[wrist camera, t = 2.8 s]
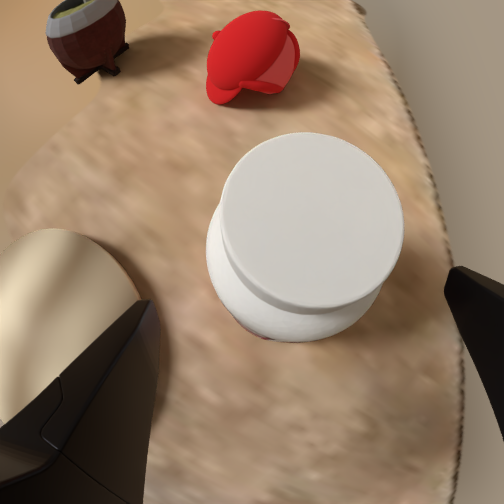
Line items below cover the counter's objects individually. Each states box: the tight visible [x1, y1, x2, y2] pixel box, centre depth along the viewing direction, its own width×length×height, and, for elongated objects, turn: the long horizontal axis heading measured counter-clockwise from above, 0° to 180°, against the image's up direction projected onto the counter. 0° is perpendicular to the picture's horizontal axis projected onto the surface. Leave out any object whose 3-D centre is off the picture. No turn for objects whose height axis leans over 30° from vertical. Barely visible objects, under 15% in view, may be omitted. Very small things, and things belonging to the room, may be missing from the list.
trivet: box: [0, 228, 141, 424], centre depth 16 cm, size 15×15×1 cm
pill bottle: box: [206, 132, 404, 343], centre depth 13 cm, size 6×6×11 cm
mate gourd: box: [46, 0, 129, 84], centre depth 16 cm, size 8×8×15 cm
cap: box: [206, 11, 300, 104], centre depth 20 cm, size 8×6×6 cm
